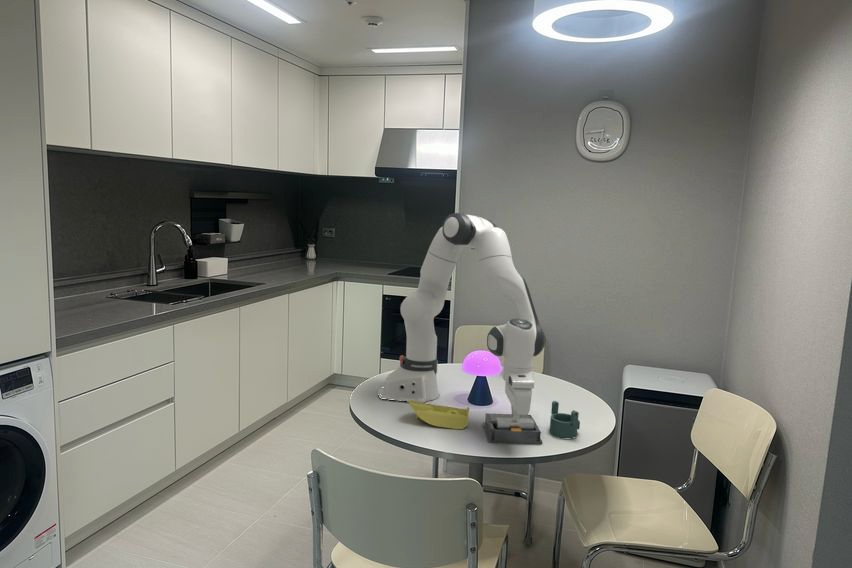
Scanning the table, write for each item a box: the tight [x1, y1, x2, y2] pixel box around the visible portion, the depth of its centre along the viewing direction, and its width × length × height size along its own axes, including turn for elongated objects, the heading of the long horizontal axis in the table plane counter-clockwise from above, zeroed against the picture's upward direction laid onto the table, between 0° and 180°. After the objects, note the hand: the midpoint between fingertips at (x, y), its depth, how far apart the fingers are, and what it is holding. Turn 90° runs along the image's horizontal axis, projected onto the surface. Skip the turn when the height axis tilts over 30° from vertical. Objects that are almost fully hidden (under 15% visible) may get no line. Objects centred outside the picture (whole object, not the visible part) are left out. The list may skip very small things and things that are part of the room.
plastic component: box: [408, 399, 470, 431], centre depth 179 cm, size 20×7×10 cm
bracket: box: [549, 400, 581, 439], centre depth 173 cm, size 9×9×9 cm
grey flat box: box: [482, 412, 543, 445], centre depth 171 cm, size 16×14×4 cm
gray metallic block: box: [495, 418, 535, 430], centre depth 167 cm, size 11×4×5 cm, turn 91°
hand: (515, 418), depth 167 cm, fingers closed
